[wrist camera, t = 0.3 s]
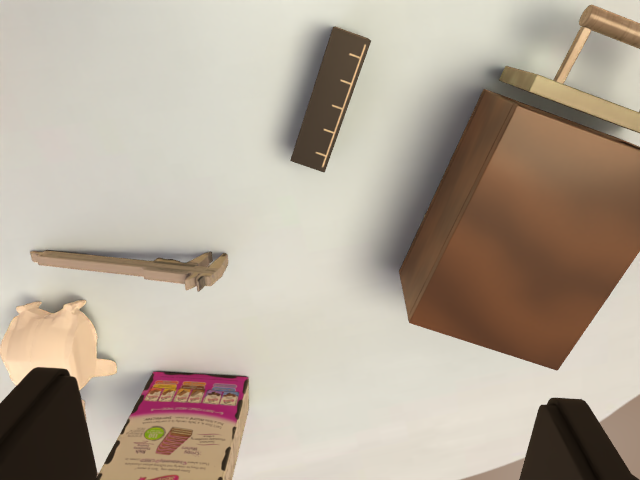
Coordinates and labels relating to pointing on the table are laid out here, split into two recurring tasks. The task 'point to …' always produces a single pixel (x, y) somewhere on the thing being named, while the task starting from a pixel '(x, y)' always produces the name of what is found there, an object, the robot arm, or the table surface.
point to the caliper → (142, 267)
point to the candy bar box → (182, 429)
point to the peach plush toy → (53, 344)
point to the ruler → (330, 98)
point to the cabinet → (524, 232)
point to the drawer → (555, 89)
